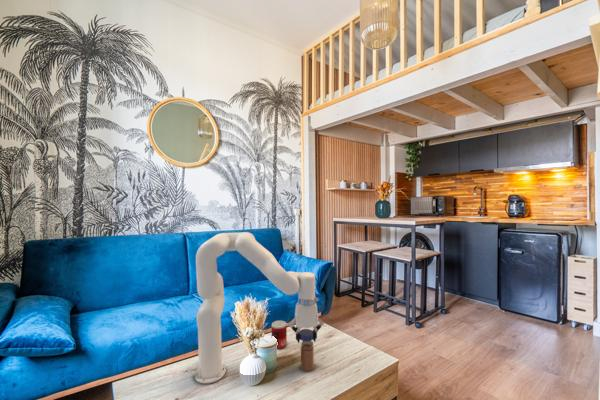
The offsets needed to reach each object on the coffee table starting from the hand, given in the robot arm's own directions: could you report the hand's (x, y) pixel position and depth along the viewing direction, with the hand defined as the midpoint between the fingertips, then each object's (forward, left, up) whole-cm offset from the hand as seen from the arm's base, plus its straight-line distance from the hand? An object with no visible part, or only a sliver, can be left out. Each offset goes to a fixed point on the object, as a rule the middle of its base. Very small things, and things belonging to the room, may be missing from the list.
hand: (306, 340), depth 123 cm
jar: (0, 0, -12) cm, 12 cm away
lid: (0, 0, +3) cm, 3 cm away
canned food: (-7, +22, -12) cm, 26 cm away
